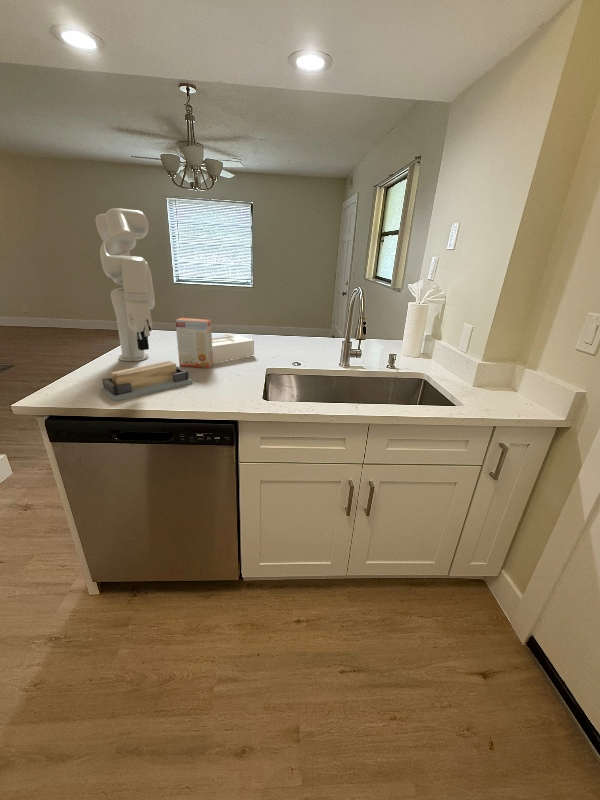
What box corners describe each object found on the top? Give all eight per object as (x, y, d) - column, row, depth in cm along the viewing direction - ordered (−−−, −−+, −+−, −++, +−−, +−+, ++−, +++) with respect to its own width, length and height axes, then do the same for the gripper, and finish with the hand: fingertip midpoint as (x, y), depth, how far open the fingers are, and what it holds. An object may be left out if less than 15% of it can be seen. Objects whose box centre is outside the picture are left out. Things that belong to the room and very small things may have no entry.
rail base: (100, 390, 122) (98, 378, 120) (176, 374, 142) (175, 364, 140) (114, 401, 114) (112, 388, 112) (192, 383, 133) (191, 372, 132)
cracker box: (213, 364, 157) (211, 319, 149) (209, 368, 152) (206, 321, 143) (184, 362, 158) (180, 317, 150) (178, 366, 152) (174, 319, 144)
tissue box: (254, 356, 174) (254, 335, 170) (210, 364, 158) (209, 341, 154) (238, 350, 184) (237, 330, 180) (195, 357, 167) (194, 335, 163)
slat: (113, 388, 120) (111, 372, 118) (169, 375, 136) (168, 360, 134) (120, 392, 117) (118, 375, 115) (177, 378, 133) (175, 363, 131)
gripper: (117, 294, 117) (124, 346, 125) (135, 301, 108) (142, 356, 116) (138, 293, 122) (144, 343, 130) (158, 300, 113) (163, 352, 121)
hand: (143, 349), depth 123 cm, fingers closed
